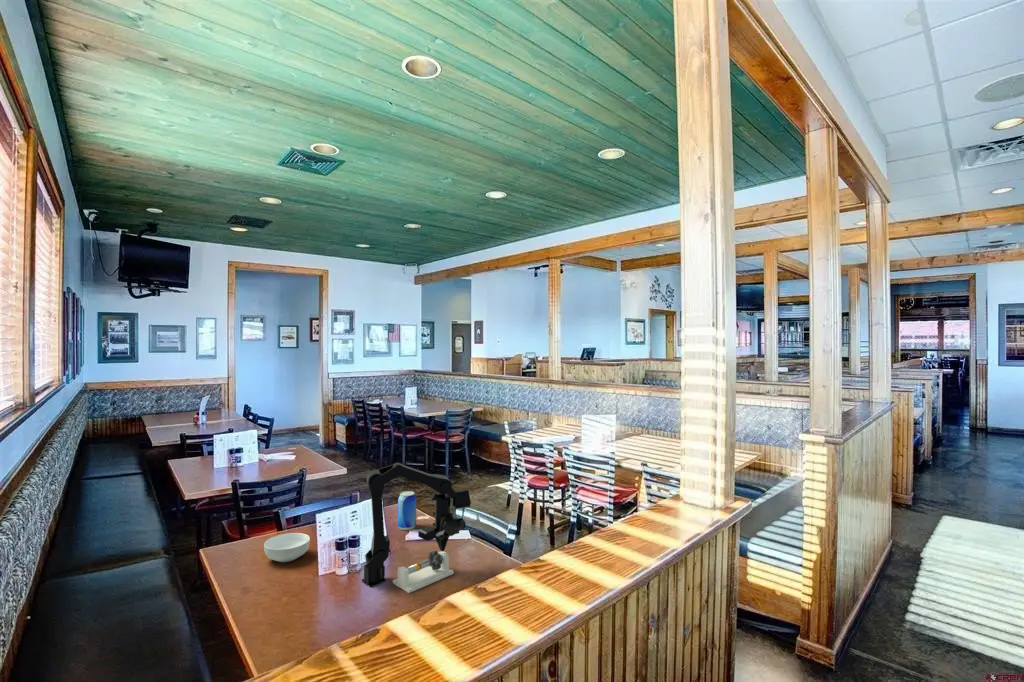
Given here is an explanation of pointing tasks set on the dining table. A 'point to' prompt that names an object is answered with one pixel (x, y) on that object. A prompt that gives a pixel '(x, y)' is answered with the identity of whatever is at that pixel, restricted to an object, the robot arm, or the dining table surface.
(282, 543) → the cereal bowl
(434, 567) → the black lobed collar
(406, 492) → the beer can
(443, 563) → the base board
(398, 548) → the dining table surface
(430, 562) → the pipe
